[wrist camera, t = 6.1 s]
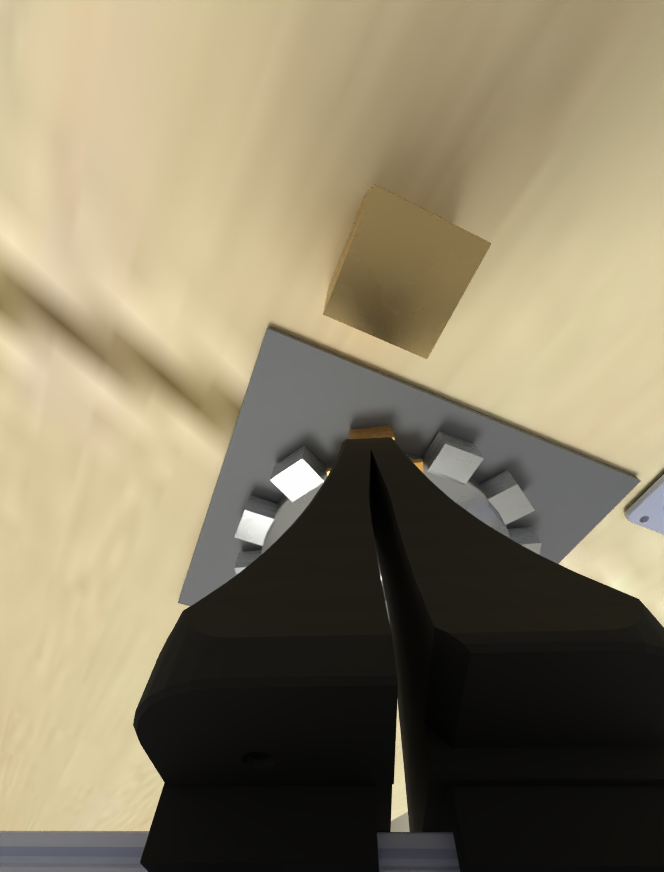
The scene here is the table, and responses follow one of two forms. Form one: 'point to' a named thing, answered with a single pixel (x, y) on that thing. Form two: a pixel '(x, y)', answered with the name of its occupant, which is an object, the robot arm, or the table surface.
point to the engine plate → (413, 431)
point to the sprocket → (441, 463)
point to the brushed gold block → (402, 272)
